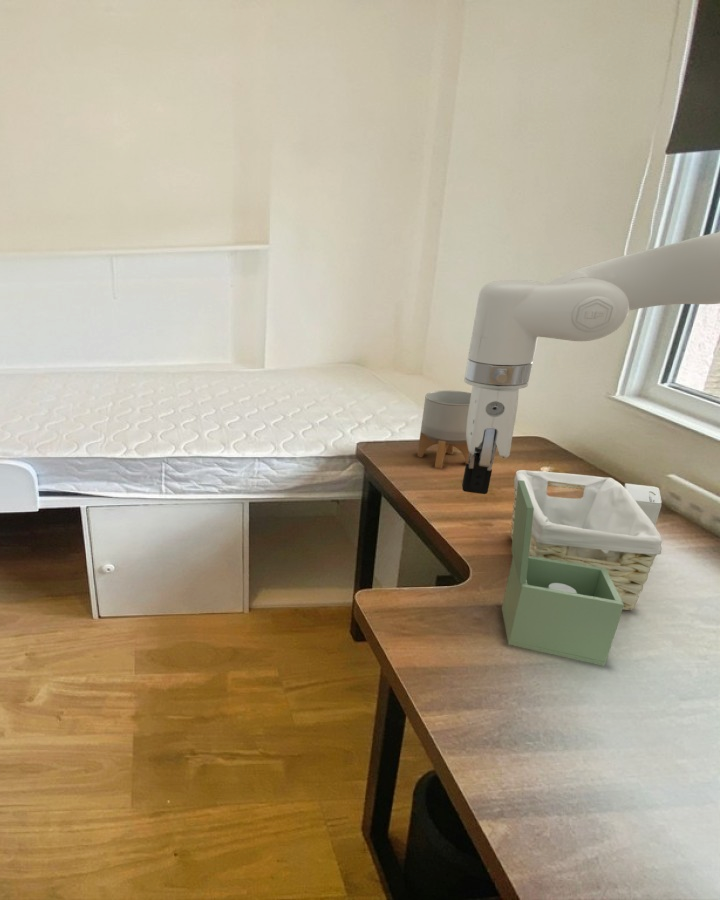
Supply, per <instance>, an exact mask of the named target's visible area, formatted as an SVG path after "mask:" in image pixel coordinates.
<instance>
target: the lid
mask: <svg viewBox="0 0 720 900" xmlns="http://www.w3.org/2000/svg"><path fill="white" fill-rule="evenodd" d="M533 512H534V507H533V504H532V501H531V499H530V496H529V493H528V490H527V487H526V484H525V482H524V481H521V480H518V486H517V497H516V507H515V518H514V529H513V539H512V538H511V540H512V541H511V554H512V560H513V559H514V563H515V567H516V571H517V575H518V580H519V583H523V584H526V578H527V568H528V559H529V550H530V540H531V531H532V521H533Z"/></svg>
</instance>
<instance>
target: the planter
mask: <svg viewBox="0 0 720 900" xmlns="http://www.w3.org/2000/svg"><path fill="white" fill-rule="evenodd" d="M470 398H471V392H467V391H462V390H434V391H430V392H427V393H426V394H425V397H424V403H423V412H422V419H421V426H420V434H419V441H418V448H417V456H416V457H419V458H423V457H424V456H425V453H426V451H427V449H428V448H430V447H432V446H435V445H437V449H436V456H435V463H434V468H435V469H438V470H439V469H440V470H441V469H443V465H444V460H445V456H446V454H448V455H453V454H454V450H455V448H456V449H457V450H459V452H460V453H461V454H462V455H463V457H464V460H465V464H466V463H467V464H469V463H468V456H469V451H468V446H467V440H466V427H467V417H468V410H469V404H470Z"/></svg>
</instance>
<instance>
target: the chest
mask: <svg viewBox="0 0 720 900" xmlns="http://www.w3.org/2000/svg"><path fill="white" fill-rule="evenodd" d="M552 583H561V584H565V585H568V586H570V587H572V588H573V589H575V590H576V592H577V594H576V593H571V592H565V591H560V590H554V589H549V588H548V586H549V585H550V584H552ZM623 607H624V604H623V602H622V600H621V598H620V596H619V594H618V592H617V590H616V588H615V586H614V584H613V582H612V580H611V578H610V576H609V574H608V571H607V569H606V568H601V567H595V566H589V565H583V564H577V563H570V562H564V561H558V560H552V559H546V558H539V557H533V556H529V559H528V568H527V578H526V584H523V583H519V580H518V575H517V571H516V567H515V563H514V559H513V558H512V559H511V563H510V569H509V573H508V577H507V583H506V587H505V592H504V596H503V601H502V605H501V612H502V617H503V622H504V627H505V634H506V639H507V644H508V645H509V646H513V647H519V648H522V649H528V650H532V651H536V652H541V653H545V654H550V655H554V656H558V657H563V658H568V659H572V660H577V661H582V662H586V663H589V664H595V665H599V666H603V667H604V666H606V664H607V660H608V657H609V654H610V650H611V647H612V644H613V641H614V638H615V634H616V631H617V628H618V626H619V622H620V620H621V616H622V613H623V610H624V609H623Z"/></svg>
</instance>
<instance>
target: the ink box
mask: <svg viewBox="0 0 720 900" xmlns="http://www.w3.org/2000/svg"><path fill="white" fill-rule="evenodd" d="M623 487H624V488H625V489H626V490H627V491H628V492H629V493H630V494H631V495H632V497H633V498H634V500H635V501H636V502H637V504H638V505H639V506H640V508H641V509H642V510H643V511H644V513H645V514H646V515H647V516H648V518H649V519H650V520H651V522H652V523H653V524H654V526H655V527H656V525H657V522H658V519H659V515H660V511H661V508H662V503H663V502H662V497H661V491H660V488H659V487H657V486H651V485H644V484H643V485H642V484H635V483H624V486H623Z"/></svg>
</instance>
